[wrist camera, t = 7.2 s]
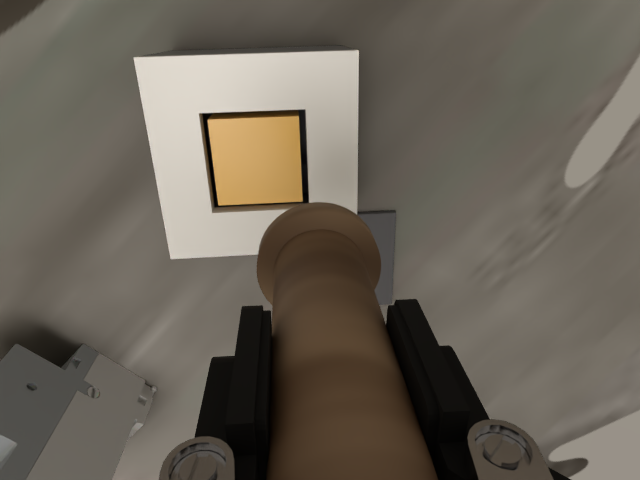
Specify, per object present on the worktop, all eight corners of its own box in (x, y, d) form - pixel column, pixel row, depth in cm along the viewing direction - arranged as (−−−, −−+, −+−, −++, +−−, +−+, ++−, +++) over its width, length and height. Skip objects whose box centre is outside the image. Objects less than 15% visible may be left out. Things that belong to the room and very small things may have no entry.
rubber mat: (390, 301, 42) (391, 304, 42) (293, 306, 42) (293, 309, 41) (394, 210, 39) (395, 212, 38) (288, 215, 38) (288, 218, 38)
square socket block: (341, 202, 38) (357, 249, 30) (195, 208, 37) (170, 259, 29) (340, 45, 33) (358, 50, 25) (172, 50, 32) (133, 57, 24)
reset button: (300, 180, 32) (302, 201, 28) (227, 183, 32) (218, 205, 28) (297, 104, 30) (298, 115, 26) (218, 107, 30) (207, 119, 26)
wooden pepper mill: (373, 304, 18) (580, 955, 5) (261, 309, 18) (208, 1008, 5) (379, 200, 16) (717, 829, 4) (254, 203, 16) (143, 901, 3)
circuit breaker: (21, 306, 40) (-116, 448, 26) (157, 387, 45) (101, 543, 31) (-22, 358, 42) (-169, 515, 28) (113, 430, 47) (42, 595, 33)
